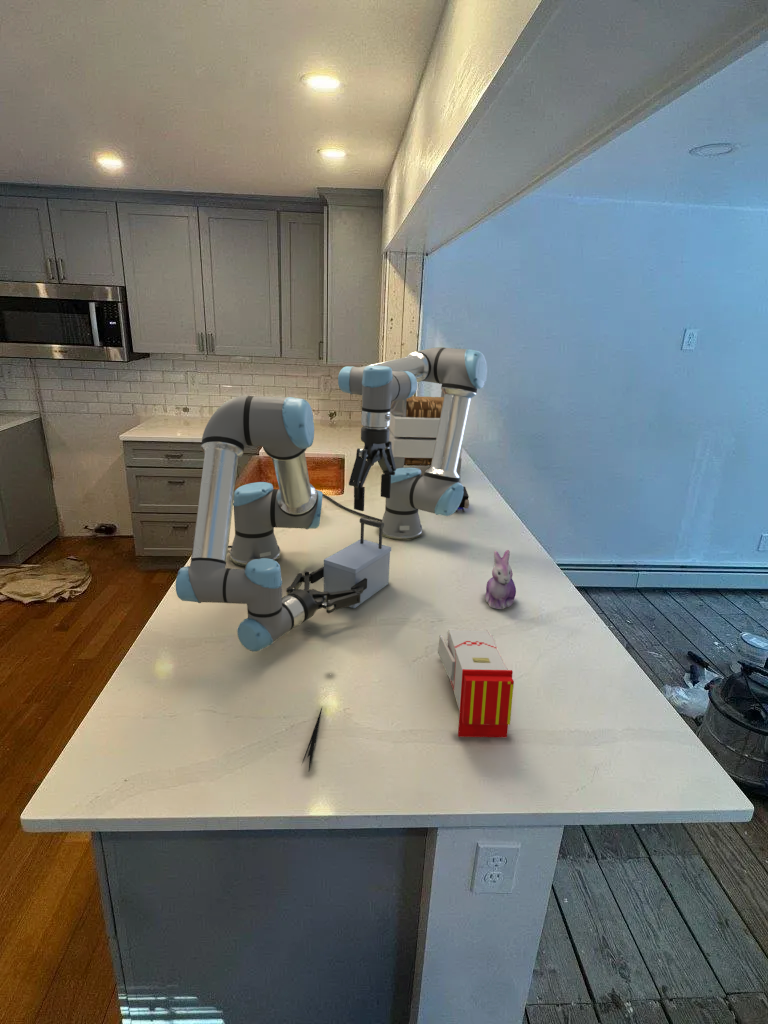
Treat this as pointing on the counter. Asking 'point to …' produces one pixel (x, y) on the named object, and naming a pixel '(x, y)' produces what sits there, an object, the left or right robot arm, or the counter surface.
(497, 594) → the figurine
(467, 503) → the figurine character
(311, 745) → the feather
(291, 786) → the counter surface
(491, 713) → the toy
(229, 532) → the left robot arm
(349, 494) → the counter surface
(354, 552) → the lid
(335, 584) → the chest
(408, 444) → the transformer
